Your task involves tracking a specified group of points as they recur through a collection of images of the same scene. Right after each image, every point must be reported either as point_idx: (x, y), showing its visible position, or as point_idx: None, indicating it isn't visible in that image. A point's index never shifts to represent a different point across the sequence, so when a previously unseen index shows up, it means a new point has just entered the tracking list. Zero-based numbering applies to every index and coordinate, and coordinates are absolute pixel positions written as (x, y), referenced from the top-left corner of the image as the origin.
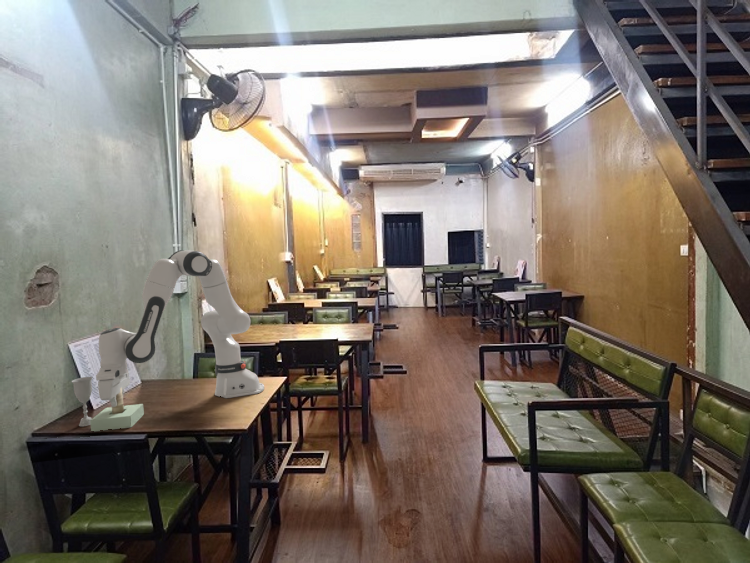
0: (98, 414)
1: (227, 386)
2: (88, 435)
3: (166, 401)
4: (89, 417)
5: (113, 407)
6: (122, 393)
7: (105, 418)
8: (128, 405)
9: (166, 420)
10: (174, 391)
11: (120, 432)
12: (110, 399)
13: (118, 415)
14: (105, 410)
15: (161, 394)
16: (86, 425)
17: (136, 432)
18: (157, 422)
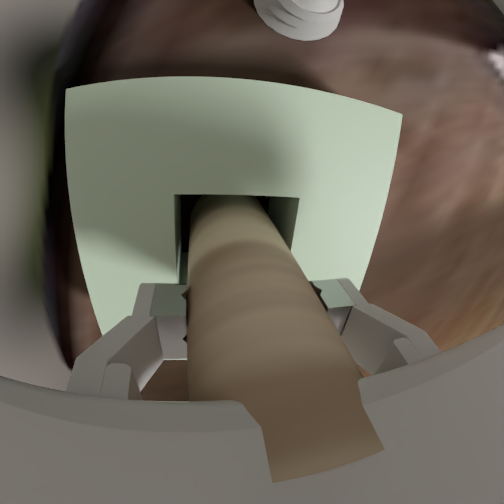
0: (219, 87)
1: None
2: (50, 111)
3: (422, 322)
4: (322, 9)
5: (192, 267)
6: (368, 369)
7: (73, 215)
8: (360, 275)
9: (183, 396)
10: (484, 301)
11: (64, 280)
12: (86, 368)
13: (126, 291)
14: (326, 122)
15: (490, 273)
16: (258, 9)
17: (67, 340)
18: (167, 379)
